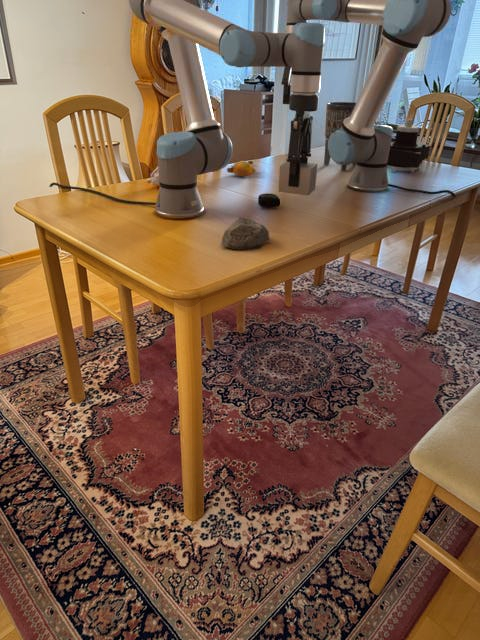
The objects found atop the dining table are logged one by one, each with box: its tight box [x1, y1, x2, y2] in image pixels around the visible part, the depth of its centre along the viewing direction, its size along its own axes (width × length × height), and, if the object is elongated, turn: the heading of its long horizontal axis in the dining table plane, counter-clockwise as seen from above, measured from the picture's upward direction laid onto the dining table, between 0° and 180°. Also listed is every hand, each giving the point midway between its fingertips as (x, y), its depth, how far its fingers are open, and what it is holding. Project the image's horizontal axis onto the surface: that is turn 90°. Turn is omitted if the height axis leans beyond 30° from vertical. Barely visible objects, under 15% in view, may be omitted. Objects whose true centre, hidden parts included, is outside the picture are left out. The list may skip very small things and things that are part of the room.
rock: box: [221, 216, 270, 250], centre depth 119 cm, size 13×9×6 cm, turn 131°
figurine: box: [145, 166, 159, 186], centre depth 170 cm, size 8×15×13 cm, turn 145°
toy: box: [226, 160, 256, 178], centre depth 191 cm, size 11×6×15 cm
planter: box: [323, 101, 357, 172], centre depth 204 cm, size 20×20×26 cm
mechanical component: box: [386, 118, 432, 173], centre depth 206 cm, size 22×21×30 cm
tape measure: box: [257, 192, 281, 209], centre depth 151 cm, size 7×7×4 cm
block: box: [278, 161, 318, 196], centre depth 128 cm, size 7×9×7 cm
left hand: (297, 183), depth 129 cm, fingers closed on block, 7 cm apart
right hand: (291, 103), depth 179 cm, fingers open, 13 cm apart
